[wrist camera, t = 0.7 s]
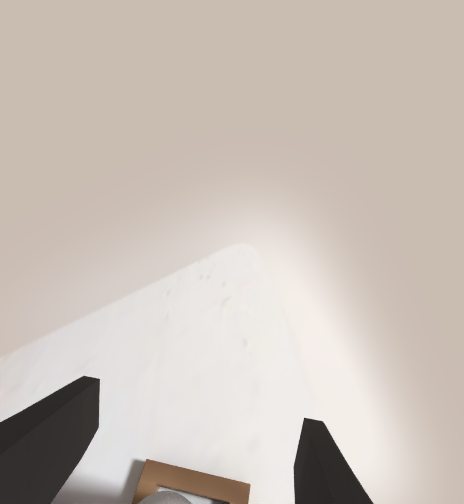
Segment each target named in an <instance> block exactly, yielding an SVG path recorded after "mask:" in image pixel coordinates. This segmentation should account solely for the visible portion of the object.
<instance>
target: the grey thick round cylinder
mask: <svg viewBox="0 0 464 504" xmlns="http://www.w3.org/2000/svg"><path fill="white" fill-rule="evenodd" d="M138 504H192V503H191V502H190V501H188V500H187V499H186V498H185V497H183V496H182V495H180V494H178V493H175V492H171V491H161V492H156V493H153V494H151V495H149V496H147V497H146V498H144V499H143V500H142V501H140V502H139V503H138Z"/></svg>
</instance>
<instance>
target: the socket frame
mask: <svg viewBox="0 0 464 504" xmlns="http://www.w3.org/2000/svg"><path fill="white" fill-rule="evenodd" d="M159 486H162V487H166V488H170V489H174V490H178V491H182V492H185V493H189V494H193V495H197V496H201V497H205V498H209V499H213V500H217V501H221V502H225V503H229V504H248V500H249V492H250V484H248V483H244V482H239V481H235V480H231V479H227V478H223V477H219V476H215V475H211V474H206V473H202V472H198V471H194V470H190V469H186V468H182V467H177V466H173V465H169V464H165V463H161V462H157V461H153V460H149V459H146V462H145V465H144V468H143V471H142V474H141V477H140V480H139V483H138V486H137V489H136V492H135V495H134V498H133V501H132V504H138V503H139V502H140V501H142V500H143V499H144V498H146V497H147V496H149V495H151V494H153V493H156V492H158V489H159Z"/></svg>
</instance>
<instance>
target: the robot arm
mask: <svg viewBox="0 0 464 504" xmlns="http://www.w3.org/2000/svg"><path fill="white" fill-rule="evenodd" d="M99 392H100V379H97V378H92V377H87V376H83V377H81V378H79V379H77V380H75V381H73V382H72V383H70V384H68V385H66V386H65V387H63V388H61V389H59V390H58V391H56V392H54V393H52V394H51V395H49V396H47V397H46V398H44V399H42V400H40V401H38V402H37V403H35V404H33V405H31V406H30V407H28V408H26V409H24V410H23V411H21V412H19V413H17V414H15V415H13V416H11V417H10V418H8V419H6V420H4V421H2V422H0V504H50V503H51V502H52V500H53V499H54V498H55V496H56V495H57V493H58V492H59V490H60V489H61V488H62V486H63V485H64V483H65V482H66V480H67V479H68V477H69V476H70V475H71V473H72V472H73V470H74V469H75V467H76V466H77V464H78V463H79V461H80V460H81V458H82V457H83V455H84V453H85V451H86V450H87V448H88V446H89V444H90V442H91V441H92V439H93V437H94V435H95V433H96V431H97V429H98V427H99ZM294 490H295V504H373V502H372V501H371V499H370V498H369V496H368V495H367V493H366V492H365V490H364V489H363V487H362V485H361V484H360V482H359V481H358V479H357V478H356V476H355V475H354V473H353V471H352V470H351V468H350V467H349V465H348V463H347V462H346V460H345V458H344V457H343V455H342V453H341V452H340V450H339V448H338V446H337V445H336V443H335V441H334V440H333V438H332V436H331V434H330V433H329V431H328V429H327V427H326V425H325V424H324V423H323V421H318V420H313V419H308V418H304V421H303V426H302V430H301V435H300V440H299V445H298V449H297V454H296V459H295V463H294Z"/></svg>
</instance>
